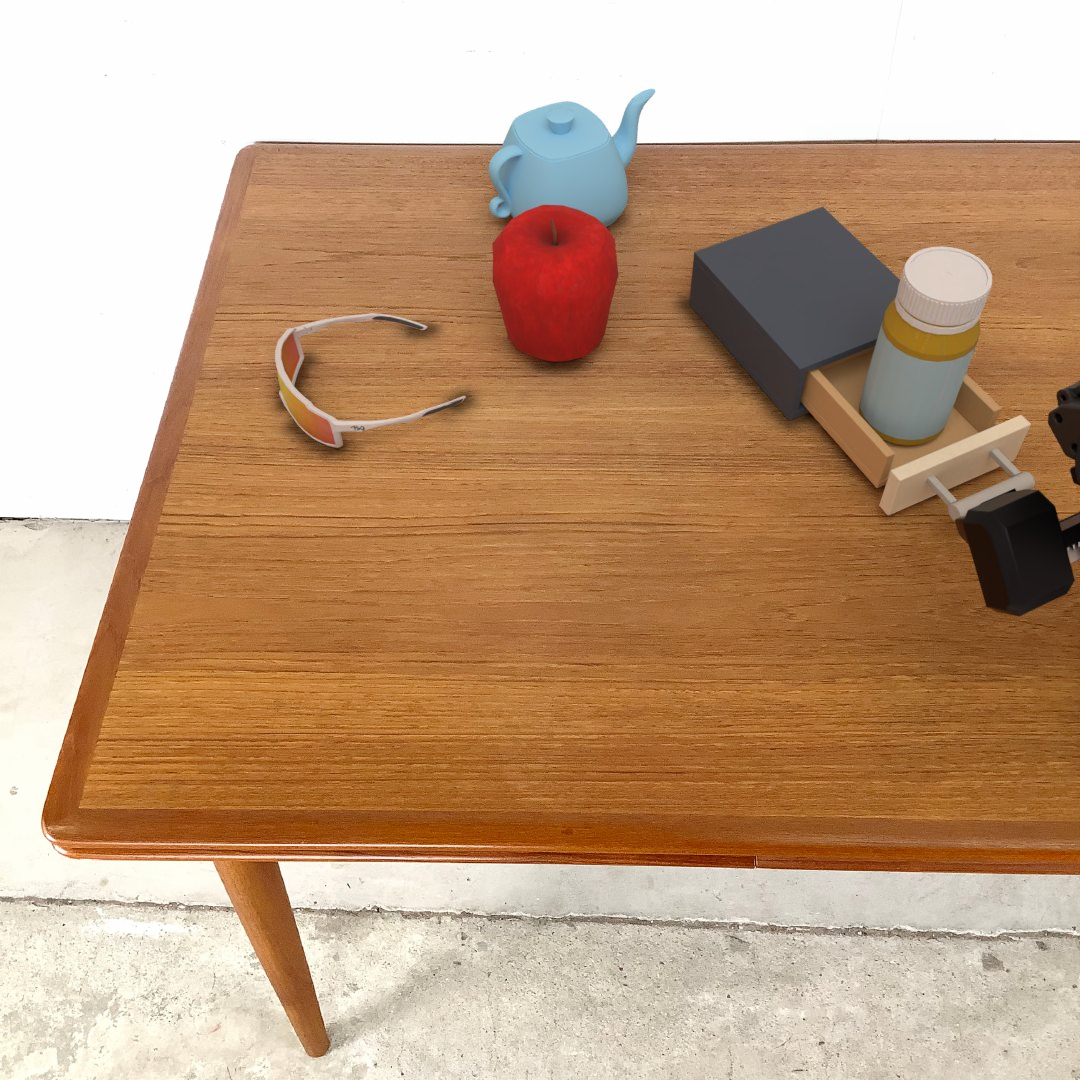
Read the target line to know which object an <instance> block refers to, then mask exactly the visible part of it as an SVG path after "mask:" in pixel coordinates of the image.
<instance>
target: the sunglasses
mask: <svg viewBox="0 0 1080 1080" xmlns="http://www.w3.org/2000/svg"><path fill="white" fill-rule="evenodd" d="M369 321H381V322H388V323H394V324H399V325H403V326H406V327H410V328H413V329H416V330H419V331H425V330H427V329H428V326H427V325H425V324H423V323H420V322H417V321H414V320H411V319H408V318H404V317H401V316H397V315H392V314H386V313H377V312H372V313H363V314H353V315H344V316H337V317H331V318H324V319H319V320H316V321H315V320H314V321H312V322H308V323H305V324H302V325H301V324H300V325H298V326H293V327H289V328H287V329H286V331H284V332H283V334H282V335H281V336H280V337H279V339H278V340H277V343H276V346H275V351H274V362H275V367H276V374H277V375H276V376H277V381H278V386H279V391H278V393H279V397H280V400H281V401H282V403H283V406H284V407H285V409H286V410H287V412H288V414H289V415H290V417H291V418H292V419H293V421H294V422H295V423H296V425H297V426H298V427H299V428H300V429H301V430H302V431H303V432H304V433H305V434H306V435H307V436H308V437H310V438H311V439H313V440H315V441H316V442H318V443H321V444H323V445H325V446H327V447H331V448H336V449H339V448H341V447H342V446H344V441H343V436H342V432H343V433H344V432H357V433H363V432H365V431H369V430H372V429H377V428H382V427H387V426H393V425H399V424H400V425H401V424H408V423H412V422H414V421H417V420H419V419H422V418H425V417H428V416H430V415H435V414H436V413H440V412H442V411H444V410H447V409H450V408H453V407H455V406H457V405H459V404H462V403H463V402H464V401H465V399H466V398H467V396H466V395H462V396H459V397H456V398H454V399H452V400H449V401H446V402H443V403H441V404H438V405H435V406H431V407H429V408H425V409H422V410H419V411H416V412H413V413H410V414H408V415H403V416H399V417H393V418H387V419H377V420H349V419H348V420H343V419H337V418H336V417H335V416H332V415H330V413H329V414H328V413H327V412H325V411H323V410H321V409H319V408H318V407H317V406H314V404H313V403H312V401H310V399H308V398H307V397H306V396H304V395H303V394H302V393H301V392H300V391H299V390H298V388H297V387H295V385H296V384H295V383H296V380H297V377H298V374H299V371H300V369H301V367H302V364H303V362H304V360H305V354H304V350H303V347H302V345H301V340H300V338H301V337H304V336H306V335H310V334H314V333H317V332H319V331H320V330H322V329H325V328H327V327H330V326H333V325H336V324H342V323H363V322H369Z"/></svg>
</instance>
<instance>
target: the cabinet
mask: <svg viewBox="0 0 1080 1080" xmlns="http://www.w3.org/2000/svg"><path fill="white" fill-rule="evenodd" d="M691 271H692V272H691V281H690V293H689V301H688V305H689V306H690V307H691V308H692V310H693V311H694V312H695V313H696V314H697V316H698V317H699V318H700V319H701V320H702V321H703V322H704V324H705V325H706V326H707V327H708V329H709V330H710V331H711V332H712V333H713V335H715V337H716V338H717V339H718V340H719V341H720V343H721V344H722V345H723V346H724V347H725V349H726V350H728V352H729V353H730V354H731V355H732V356H733V358H734V359H735V360H736V361H737V362H738V364H740V366H741V367H742V369H744V370H745V371H746V373H747V374H748V375H749V376H750V377H751V378H752V380H753V381H754V382H755V383H756V384H757V385H758V387H759V388H760V389H761V390H762V391H763V393H764V394H765V395H766V396H767V397H768V398H769V399H770V401H771V402H772V403H773V404H774V406H775V407H776V408H777V410H779V412H781V414H783V416H784V417H785V418H786V419H787V421H789V422H790V421H793V420H795V419H797V418H801V417H802V416H805V415H807V414H809V413H810V412H809V411H808V410H807V408H806V407H805V406H804V405H803V404H802V403H801V402H800V400H801V396H802V391H803V386H804V382H805V377H806V373H807V372H809V371H812V370H815V369H817V368H820V367H822V366H825V365H827V364H830V363H832V362H835V361H838V360H840V359H843V358H845V357H848V356H850V355H853V354H855V353H858V352H860V351H863V350H866V349H868V348H871V347H873V346H876V342H877V338H878V335H879V331H880V328H881V324H882V321H883V317H884V315H885V312H886V310H887V308H888V306H889V305H890V303H891V302H892V301H893V300H894V299H895V297H896V295H897V292H898V286H899V282H900V279H901V278H899V277H898V276H897V275H896V274H895V273H894V272H892V270H891V269H889V267H887V265H885V264H884V263H883V262H882V261H881V260H880V259H879V258H878V257H876V255H875V254H874V253H872V252H871V250H869V249H868V247H866V246H865V245H864V244H863V243H862V242H861V241H860V240H859V239H858V238H857V237H855V235H854V234H852V233H851V232H850V231H849V230H848V229H847V228H846V227H845V226H844V225H843V224H842V223H841V222H840V221H839V220H838V219H837V218H835V216H833V214H832V213H830V211H829V210H827V209H826V208H825V207H824V206H821V207H817V208H815V209H812V210H809V211H806V212H803V213H801V214H798V215H794V216H793V217H789V218H787V219H783V220H781V221H778V222H775V223H773V224H772V223H771V224H769V225H767V226H764V227H760V228H758V229H755V230H752V231H749V232H746V233H743V234H741V235H738V236H735V237H733V238H730V239H726V240H724V241H721V242H718V243H716V244H713V245H709V246H707V247H703V248H701V249H698V250H696V251H694V252H693V261H692V270H691ZM810 414H811V413H810Z"/></svg>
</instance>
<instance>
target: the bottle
mask: <svg viewBox="0 0 1080 1080" xmlns="http://www.w3.org/2000/svg"><path fill="white" fill-rule="evenodd" d="M901 272H902V273H901V276H900V278H899V279H900V282H899V286H898V292H897V295H896V297H895V299H894V300H893V301H892V302H891V303H890V305H889V306H888V308H887V310H886V312H885V315H884V317H883V321H882V324H881V328H880V331H879V335H878V338H877V342H876V346H875V349H874V353H873V356H872V360H871V363H870V367H869V371H868V374H867V378H866V381H865V385H864V388H863V392H862V396H861V400H860V404H859V414H860V416H861V417H862V418H863V419H864V420H865V421H866V422H867V423H868V424H869V425H870V427H871V428H872V429H873V430H874V431H875V432H876V433H877V434H878V435H879V436H880V438H881V439H882V440H884V441H886V442H889V443H892V444H895V445H903V446H911V445H919V444H923V443H926V442H929V441H931V440H933V439H935V438H936V437H937V436H939V435H940V434H941V433H942V432H943V430H944V428H945V426H946V423H947V421H948V419H949V416H950V414H951V411H952V408H953V406H954V403H955V401H956V398H957V395H958V393H959V390H960V387H961V385H962V382H963V379H964V377H965V374H967V371H968V368H969V367H970V363H971V361H972V358H973V355H974V353H975V351H976V348H977V345H978V342H979V338H980V336H981V316H982V313H983V310H984V308H985V306H986V303H987V301H988V297H989V295H990V293H991V291H992V286H993V274H992V272H991V270H990V267H989V266H988V265H987V264H986V262H984V261H983V260H982V259H981V258H980V257H978V256H977V255H975V254H973V253H971V252H969V251H967V250H964V249H961V248H956V247H950V246H931V247H926V248H922V249H920V250H918V251H916V252H914V253H913V254H911V256H909V258H907V260H906V262H905V264H904V266H903V269H902V271H901Z"/></svg>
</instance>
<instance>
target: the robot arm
mask: <svg viewBox="0 0 1080 1080" xmlns="http://www.w3.org/2000/svg"><path fill="white" fill-rule="evenodd" d="M1055 396H1056V401H1057V407H1056V408H1054V409H1052V410H1051V411H1049V412H1048V415H1047V424H1048V427H1049V429H1050V430H1051V432H1052V434H1053V435H1054V437H1055V439H1056V441H1057V443H1058V445H1059V447H1060V448H1061V450H1062V453H1063V455H1065V456H1066V457H1068V458H1069V459H1071V460H1073V461H1074V466H1071V467H1070V468H1069V472H1070V476H1071V480H1072V482H1073V483H1074V484H1075V485H1077V486H1079V487H1080V379H1079V380H1078V381H1076V382H1074V383H1072V384H1071V385H1068V386H1065V387H1064V388H1061V389H1059V390H1057V392H1056V395H1055ZM954 523H955V527H956V530H957V533H958V535H959V536H960V537H961V539H962V540H964V541H965V542H966V544H967V545H968V548H969V551H970V555H971V558H972V562H973V565H974V569H975V572H976V576H977V579H978V583H979V586H980V589H981V593H982V597H983V600H984V604H985V607H986V608H988V609H990V610H992V611H994V612H996V613H1000V614H1005V615H1008V616H1014V617H1021V616H1023V615H1024V616H1025V614H1028V613H1030V612H1032V611H1034V610H1036V609H1038V608H1040V607H1042V606H1045V605H1046V604H1048V603H1051V602H1053V601H1054V600H1058V599H1059V598H1061V597H1063V596H1065V595H1067V594H1068V593H1069V591H1070V589H1071V588H1072V586H1073V584H1074V583H1075V582H1076V578H1075V575H1074V572H1073V568H1072V564H1074V563H1076V562H1078V561H1080V511H1078V512H1076V513H1074V514H1071V515H1070V516H1067V517H1065V518H1062V519H1061V520H1060V519H1059V516H1058V512H1057V508H1056V506H1055V505H1054V503H1053V502H1052V501H1050V499H1048V497H1046V495H1045V494H1044V493H1043V492H1042V491H1041V490H1039V489H1024V490H1020V491H1016V489H1015V488H1014V489H1012V490H1010V491H1007V492H1005V493H1003V494H1001V495H998V496H996V497H994V498H992V499H989V500H987V501H985V502H983V503H981V504H980V505H978V506H976V507H974V508H971V509H969V510H968V511H967V513H966V516H962V517H959V518H957V519H955V521H954Z"/></svg>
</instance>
